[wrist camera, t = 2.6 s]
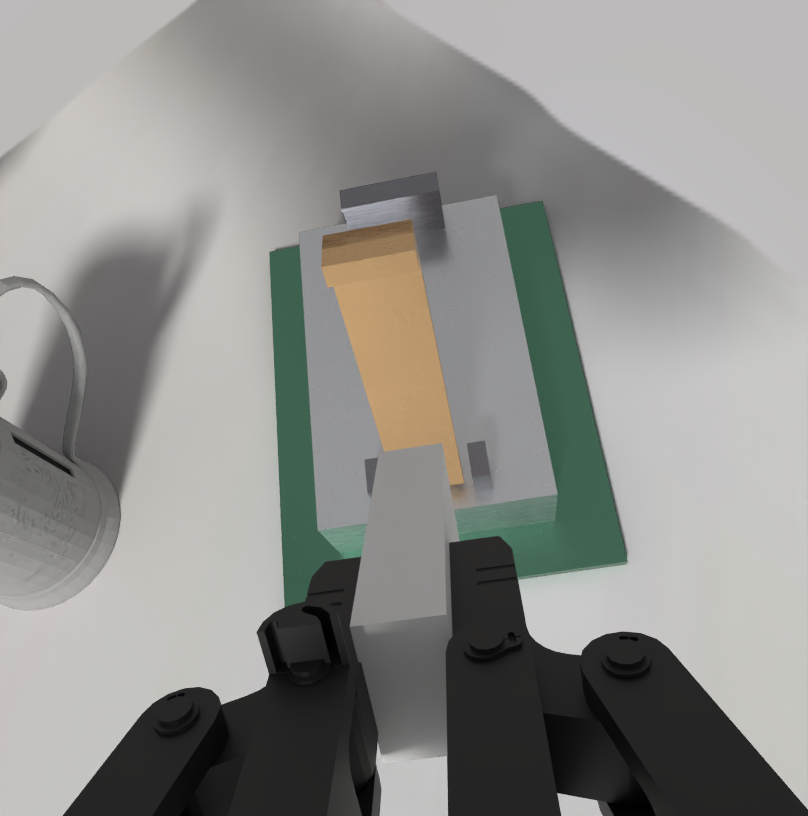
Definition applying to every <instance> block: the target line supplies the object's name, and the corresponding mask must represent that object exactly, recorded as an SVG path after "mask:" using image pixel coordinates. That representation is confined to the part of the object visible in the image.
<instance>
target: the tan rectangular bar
mask: <svg viewBox="0 0 808 816" xmlns="http://www.w3.org/2000/svg"><path fill="white" fill-rule="evenodd" d="M321 268H322V272H323V275H324V278H325V281H326V284H327V287H334V290H335V293H336V297H337V300H338V303H339V306H340V310H341V313H342V316H343V319H344V323H345V326H346V329H347V332H348V336H349V339H350V342H351V345H352V349H353V352H354V355H355V358H356V362H357V365H358V368H359V371H360V375H361V378H362V381H363V384H364V388H365V391H366V394H367V397H368V401H369V404H370V407H371V410H372V414H373V417H374V420H375V423H376V427H377V430H378V433H379V436H380V440H381V443H382V446H383V449H384V452H385V451H392V450H398V449H405V448H412V447H418V446H425V445H431V444H438V443H442V445H443V450H444V456H445V461H446V467H447V473H448V478H449V484H450V485H455V484H462V483H464V479H463V471H462V466H461V461H460V456H459V451H458V446H457V441H456V436H455V431H454V426H453V421H452V416H451V411H450V406H449V401H448V396H447V391H446V386H445V381H444V376H443V371H442V366H441V361H440V356H439V351H438V346H437V341H436V336H435V331H434V326H433V321H432V316H431V311H430V306H429V301H428V296H427V291H426V286H425V281H424V277H423V272H422V267H421V262H420V257H419V252H418V247H417V242H416V237H415V232H414V227H413V222H412V219H408V220H403V221H398V222H392V223H387V224H382V225H377V226H371V227H366V228H361V229H355V230H350V231H345V232H339V233H334V234H329V235H324V236H323V237H322V259H321Z"/></svg>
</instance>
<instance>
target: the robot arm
mask: <svg viewBox="0 0 808 816" xmlns="http://www.w3.org/2000/svg"><path fill="white" fill-rule="evenodd" d="M257 635H258V638H259V641H260V645H261V648H262V652H263V655H264V658H265V662H266V665H267V668H268V672H269V677H268V681H267V684H266V686H265V687H264V688H262V689H261V690H259V691H257V692H254V693H252V694H250V695H247V696H245V697H242V698H239V699H236V700H234V701H231V702H228V703H225V704H222V705H221V702H220V699H219V697H218V696H217V695H216V694H215V693H214V692H213V691H212V690H209V689H205V688H201V687H195V688H185V689H181V690H179V691H176V692H173V693H170V694H168V695H166V696H164V697H163V698H161V699H159V700H158V701H156V702H154V703H153V704H152V705H151V706H150V707H149V708H148V709H147V710H146V711H145V712H144V713H143V714H142V715H141V716H140V717H139V719H138V720H137V721H136V722H135V724H134V725H133V726H132V728H131V729H130V730H129V731H128V733H127V734H126V735H125V736H124V738H123V739H122V740H121V742H120V743H119V744H118V745H117V747H116V748H115V749H114V751H113V752H112V753H111V754H110V756H109V757H108V758H107V760H106V761H105V762H104V763H103V765H102V766H101V767H100V769H99V770H98V771H97V772H96V774H95V775H94V776H93V778H92V779H91V780H90V781H89V783H88V784H87V785H86V787H85V788H84V789H83V790H82V792H81V793H80V794H79V796H78V797H77V798H76V799H75V801H74V802H73V803H72V805H71V806H70V807H69V808H68V810H67V811H66V812H65V814H64V815H63V816H379V814H380V801H381V785H380V779H379V774H378V770H377V766H376V753H377V742H378V744H379V748H380V752H381V756H382V760H383V763H387V762H396V761H405V760H414V759H423V758H432V757H441V756H447V767H448V816H561V812H560V807H559V801H558V795H557V793H561V794H566V795H571V796H577V797H582V798H588V799H593V800H597V801H598V804H599V808H600V811H601V813H602V815H603V816H808V809H807V808H806V807H805V806H804V805H803V804H802V802H801V801H800V800H799V799H798V798H797V797H796V795H795V794H794V793H793V792H792V791H791V790H790V788H789V787H788V786H787V785H786V784H785V783H784V782H783V780H782V779H781V778H780V777H779V776H778V775H777V773H776V772H775V771H774V770H773V769H772V768H771V766H770V765H769V764H768V763H767V762H766V761H765V760H764V758H763V757H762V756H761V755H760V754H759V753H758V751H757V750H756V749H755V748H754V747H753V746H752V744H751V743H750V742H749V741H748V740H747V739H746V737H745V736H744V735H743V734H742V733H741V732H740V731H739V729H738V728H737V727H736V726H735V725H734V724H733V722H732V721H731V720H730V719H729V718H728V717H727V715H726V714H725V713H724V712H723V711H722V710H721V709H720V707H719V706H718V705H717V704H716V703H715V702H714V700H713V699H712V698H711V697H710V696H709V695H708V693H707V692H706V691H705V690H704V689H703V688H702V687H701V685H700V684H699V683H698V682H697V681H696V680H695V678H694V677H693V676H692V675H691V674H690V673H689V671H688V670H687V669H686V668H685V667H684V666H683V665H682V663H681V662H680V661H679V660H678V659H677V658H676V656H675V655H674V654H673V653H672V652H671V651H670V649H669V648H667V647H666V646H665V645H664V644H662V643H661V642H660V641H658V640H657V639H655V638H652V637H650V636H647V635H644V634H641V633H632V632H617V633H611V634H605V635H603V636H601V637H599V638H597V639H594V640H592V641H591V642H590V643H589V644H588V645H587V646H586V647H585V648H584V649H583V651H582V655H572V654H565V653H560V652H555V651H553V650H550V649H547V648H545V647H543V646H542V645H540V644H539V643H537V642H536V641H535V640H534V639H533V638H532V637H531V636H530V634H529V632H528V629H527V627H526V622H525V616H524V611H523V605H522V600H521V594H520V589H519V583H518V578H517V572H516V567H515V561H514V556H513V550H512V547H510V546H509V545H508V544H507V543H506V542H505V541H504V540H503V539H502V538H501V537H500V536H493V537H486V538H479V539H472V540H464V541H460V540H459V534H458V529H457V523H456V518H455V512H454V506H453V501H452V495H451V489H450V484H449V478H448V473H447V467H446V461H445V456H444V450H443V445H442V443H438V444H431V445H425V446H418V447H412V448H405V449H398V450H392V451H385V452H379V455H378V461H377V467H376V473H375V479H374V485H373V490H372V496H371V502H370V508H369V514H368V520H367V526H366V532H365V538H364V544H363V550H362V556H361V557H355V558H348V559H341V560H333V561H326V562H325V563H324V564H323V565H322V566H321V567H320V568H319V569H318V570H317V572H316V573H315V574H314V575H313V576H312V577H311V581H310V584H309V588H308V592H307V597H306V599H305V602H301V603H297V604H293V605H289V606H287V607H285V608H283V609H281V610H279V611H277V612H274V613H273V614H272V615H271V616H270V617H268V618H267V619H266V620H265V621H264V622H263V623H262V624H261V626H260V628H259V629H258V631H257Z"/></svg>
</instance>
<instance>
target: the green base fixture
mask: <svg viewBox="0 0 808 816" xmlns="http://www.w3.org/2000/svg"><path fill="white" fill-rule="evenodd" d="M340 199H341V209H342V212H343V215H344V218H345V221H346V223H345V224H340V225H335V226H330V227H324V228H319V229H314V230H309V231H303V232H299V244H300V246H299V247H293V248H288V249H283V250H277V251H272V252H270V275H271V298H272V321H273V344H274V368H275V391H276V414H277V437H278V460H279V483H280V507H281V530H282V553H283V576H284V599H285V607H287V606H289V605H293V604H297V603H301V602H305V599H306V597H307V592H308V588H309V584H310V581H311V577H312V576H313V575H314V574H315V573H316V572H317V570H318V569H319V568H320V567H321V566H322V565H323V564H324V563H325V562H326V561H333V560H341V559H348V558H355V557H361V556H362V550H363V544H364V538H365V532H366V526H367V520H368V514H369V508H370V502H371V496H372V490H373V485H374V479H375V473H376V467H377V461H378V455H379V452H384V449H383V446H382V443H381V440H380V436H379V433H378V430H377V427H376V423H375V420H374V417H373V414H372V410H371V407H370V404H369V401H368V397H367V394H366V391H365V388H364V384H363V381H362V378H361V375H360V371H359V368H358V365H357V362H356V358H355V355H354V352H353V349H352V345H351V342H350V339H349V336H348V332H347V329H346V326H345V323H344V319H343V316H342V313H341V310H340V306H339V303H338V300H337V297H336V293H335V290H334V287H327V284H326V281H325V278H324V275H323V272H322V268H321V259H322V237H323V236H324V235H329V234H334V233H339V232H345V231H350V230H355V229H361V228H366V227H371V226H377V225H382V224H387V223H392V222H398V221H403V220H408V219H412V222H413V227H414V232H415V237H416V242H417V247H418V252H419V257H420V262H421V267H422V272H423V277H424V281H425V286H426V291H427V296H428V301H429V306H430V311H431V316H432V321H433V326H434V331H435V336H436V341H437V346H438V351H439V356H440V361H441V366H442V371H443V376H444V381H445V386H446V391H447V396H448V401H449V406H450V411H451V416H452V421H453V426H454V431H455V436H456V441H457V446H458V451H459V456H460V461H461V466H462V471H463V479H464V483H462V484H455V485H450V489H451V495H452V501H453V506H454V512H455V518H456V523H457V529H458V534H459V540H460V541H464V540H472V539H479V538H486V537H493V536H500V537H501V538H502V539H503V540H504V541H505V542H506V543H507V544H508V545H509V546H510V547H512V550H513V556H514V561H515V567H516V572H517V578H518V579H525V578H532V577H539V576H546V575H553V574H560V573H568V572H575V571H582V570H589V569H596V568H603V567H610V566H617V565H624V564H626V563H627V562H628V561H627V557H626V553H625V549H624V544H623V540H622V536H621V532H620V527H619V523H618V519H617V515H616V510H615V506H614V502H613V498H612V493H611V489H610V485H609V481H608V476H607V472H606V468H605V464H604V459H603V455H602V451H601V447H600V442H599V438H598V434H597V430H596V425H595V421H594V417H593V413H592V408H591V404H590V400H589V396H588V391H587V387H586V383H585V379H584V374H583V370H582V366H581V362H580V357H579V353H578V349H577V345H576V340H575V336H574V332H573V328H572V323H571V319H570V315H569V311H568V306H567V302H566V298H565V294H564V289H563V285H562V281H561V277H560V272H559V268H558V264H557V260H556V255H555V251H554V247H553V243H552V238H551V234H550V230H549V226H548V221H547V217H546V213H545V209H544V204H543V201H538V202H533V203H528V204H522V205H517V206H512V207H506V208H501V209H499V204H498V199H497V195H493V196H488V197H483V198H477V199H472V200H467V201H462V202H456V203H451V204H446V205H442V204H441V198H440V192H439V186H438V180H437V174H436V172H433V173H428V174H423V175H417V176H412V177H407V178H402V179H397V180H392V181H386V182H381V183H376V184H371V185H366V186H361V187H355V188H350V189H345V190H340Z"/></svg>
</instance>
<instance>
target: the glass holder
mask: <svg viewBox="0 0 808 816" xmlns="http://www.w3.org/2000/svg"><path fill="white" fill-rule="evenodd" d="M21 287H26V288H32V289H35V290H36V291H38V292H39V293H41V294H42V295H44V297H45V298H46V299H47V300H48V301H49V302H50V303H51V305H52V306H53V307H54V308H55V309H56V310H57V311H58V313H59V315H60V317H61V319H62V321H63V322H64V324H65V326H66V328H67V332H68V335H69V339H70V342H71V346H72V352H73V359H74V373H73V384H72V392H71V399H70V404H69V409H68V413H67V419H66V424H65V429H64V437H63V453H64V454H65V456H66V457H64V456H63V455H61V454H59V453H58V452H56V451H55V450H53V449H51V448H50V447H48V446H47V445H45V444H43V443H42V442H40V441H39V440H37V439H35V438H34V437H32V436H30V435H29V434H27V433H26V432H24V431H22V430H21V429H19V428H18V427H16V426H14V425H13V424H11V423H9V422H8V421H6V420H5V419H3V418H1V417H0V604H3V605H5V606H8V607H10V608H13V609H19V610H40V609H45V608H49V607H53V606H55V605H58V604H60V603H62V602H65V601H67V600H68V599H70V598H71V597H73V596H75V595H76V594H78V593H79V592H80V591H81V590H83V589H84V588H85V587H86V586H87V585H89V584H90V583H91V582H92V580H93V579H94V578H95V577H96V576H97V575H98V574H99V573H100V571H101V570H102V568H103V567H104V565H105V564H106V562H107V561H108V559H109V557H110V555H111V552H112V550H113V548H114V546H115V543H116V539H117V536H118V532H119V525H120V505H119V500H118V496H117V493H116V491H115V488H114V486H113V484H112V483H111V481H110V480H109V478H108V477H107V476H106V474H104V473H103V472H102V471H101V470H100V469H99V468H98V467H96V466H94V465H93V464H91V463H89V462H87V461H84V460H81V459H79V458H78V457H76V456H75V444H76V437H77V431H78V426H79V421H80V416H81V411H82V406H83V400H84V393H85V386H86V380H87V369H88V364H87V358H86V352H85V347H84V344H83V340H82V337H81V333H80V330H79V328H78V326H77V324H76V323H75V321H74V319H73V317H72V315H71V313H70V311H69V310H68V309H67V307H66V306H65V305H64V304H63V303H62V302H61V301H60V300H59V299H58V298H57V297H56V295H55V294H54V293H53V292H51V291H50V290H48V289H47V288H45V287H44V286H42V285H41V284H39V283H38V282H36V281H34V280H33V279H29V278H22V277H16V276H13V277H9V278H5V279H1V280H0V296H1V295H3V294H4V293H6V292H8V291H10V290H13V289H17V288H21ZM6 388H7V380H6V377H5V375H4V373H3V372H2V371H1V370H0V399H1V398H2V396H3V395H4V393H5V390H6Z"/></svg>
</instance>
